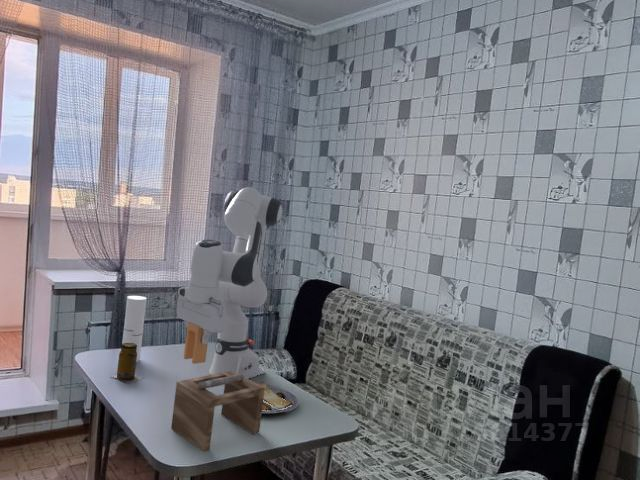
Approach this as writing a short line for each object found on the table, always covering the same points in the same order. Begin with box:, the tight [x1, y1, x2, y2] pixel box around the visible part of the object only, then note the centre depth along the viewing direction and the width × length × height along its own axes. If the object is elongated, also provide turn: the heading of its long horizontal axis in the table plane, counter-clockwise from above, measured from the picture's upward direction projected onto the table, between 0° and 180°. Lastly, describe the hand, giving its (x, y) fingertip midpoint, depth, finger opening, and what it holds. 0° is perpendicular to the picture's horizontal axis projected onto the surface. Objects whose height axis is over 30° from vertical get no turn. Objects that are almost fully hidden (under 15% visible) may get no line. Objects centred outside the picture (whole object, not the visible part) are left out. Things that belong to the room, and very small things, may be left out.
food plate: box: [258, 381, 299, 414], centre depth 173 cm, size 25×23×4 cm
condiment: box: [110, 343, 143, 384], centre depth 179 cm, size 7×8×12 cm
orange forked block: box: [183, 322, 209, 365], centre depth 149 cm, size 4×6×11 cm
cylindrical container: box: [121, 295, 147, 363], centre depth 197 cm, size 7×7×25 cm
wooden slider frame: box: [170, 371, 265, 452], centre depth 147 cm, size 20×16×16 cm
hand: (197, 340), depth 149 cm, fingers closed on orange forked block, 5 cm apart
